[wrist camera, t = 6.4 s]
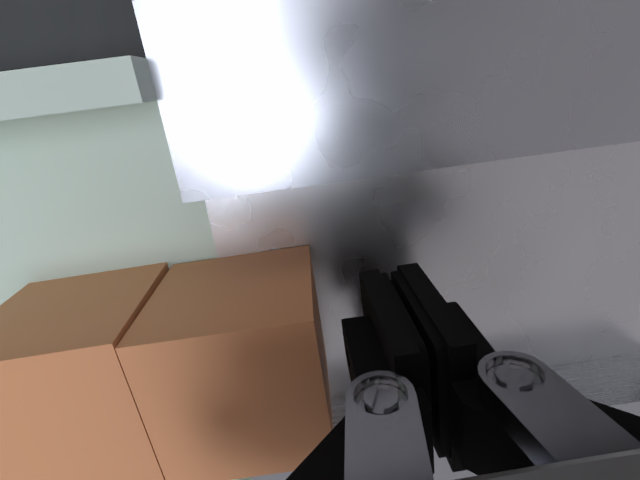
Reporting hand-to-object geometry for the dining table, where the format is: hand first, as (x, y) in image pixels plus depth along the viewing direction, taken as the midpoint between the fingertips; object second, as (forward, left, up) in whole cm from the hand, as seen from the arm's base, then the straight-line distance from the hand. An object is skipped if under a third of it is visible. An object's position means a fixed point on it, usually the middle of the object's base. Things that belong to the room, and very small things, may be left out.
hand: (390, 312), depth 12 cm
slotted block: (-2, 0, -3) cm, 4 cm away
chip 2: (+4, 0, -1) cm, 4 cm away
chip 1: (+8, 0, -1) cm, 8 cm away
